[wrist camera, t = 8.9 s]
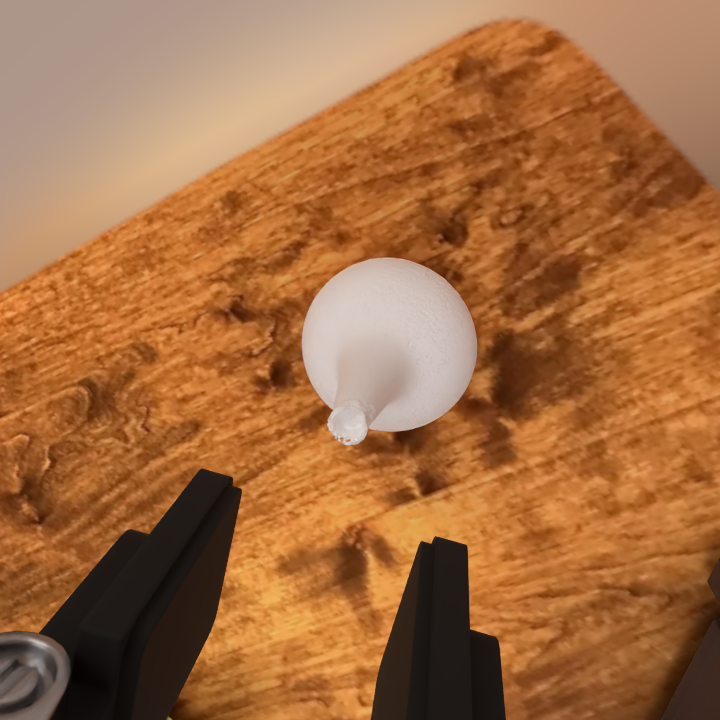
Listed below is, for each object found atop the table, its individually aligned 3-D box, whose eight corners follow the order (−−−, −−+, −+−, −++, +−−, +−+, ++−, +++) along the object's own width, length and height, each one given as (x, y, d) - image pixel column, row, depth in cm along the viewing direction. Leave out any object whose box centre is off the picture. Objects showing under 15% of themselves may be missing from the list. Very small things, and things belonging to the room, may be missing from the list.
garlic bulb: (511, 331, 25) (535, 414, 17) (398, 440, 27) (375, 557, 19) (386, 215, 24) (353, 250, 17) (279, 337, 26) (207, 416, 19)
